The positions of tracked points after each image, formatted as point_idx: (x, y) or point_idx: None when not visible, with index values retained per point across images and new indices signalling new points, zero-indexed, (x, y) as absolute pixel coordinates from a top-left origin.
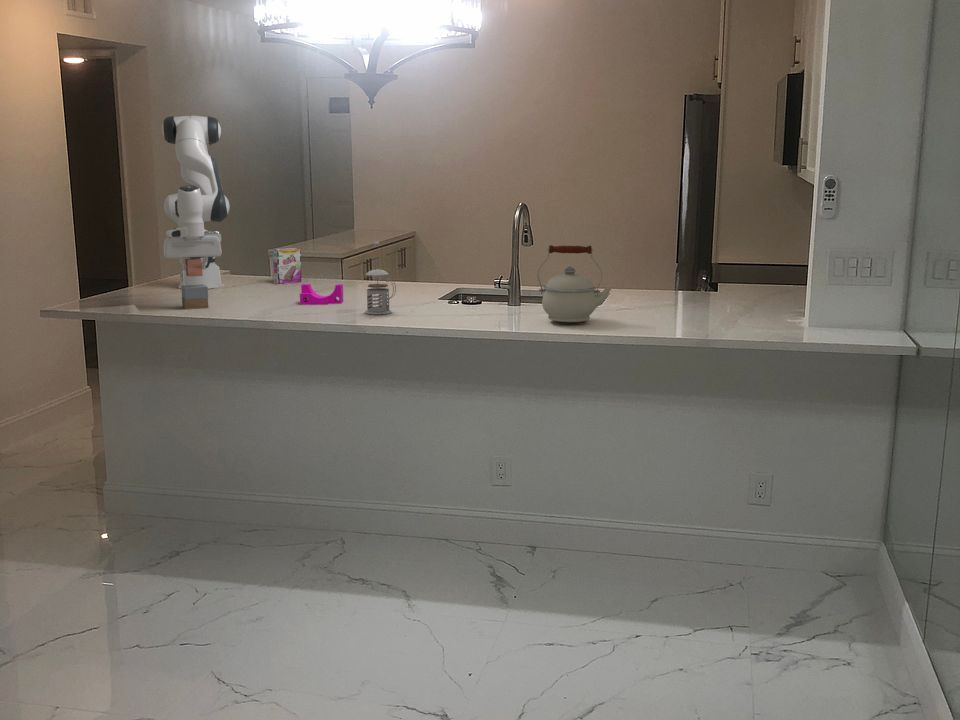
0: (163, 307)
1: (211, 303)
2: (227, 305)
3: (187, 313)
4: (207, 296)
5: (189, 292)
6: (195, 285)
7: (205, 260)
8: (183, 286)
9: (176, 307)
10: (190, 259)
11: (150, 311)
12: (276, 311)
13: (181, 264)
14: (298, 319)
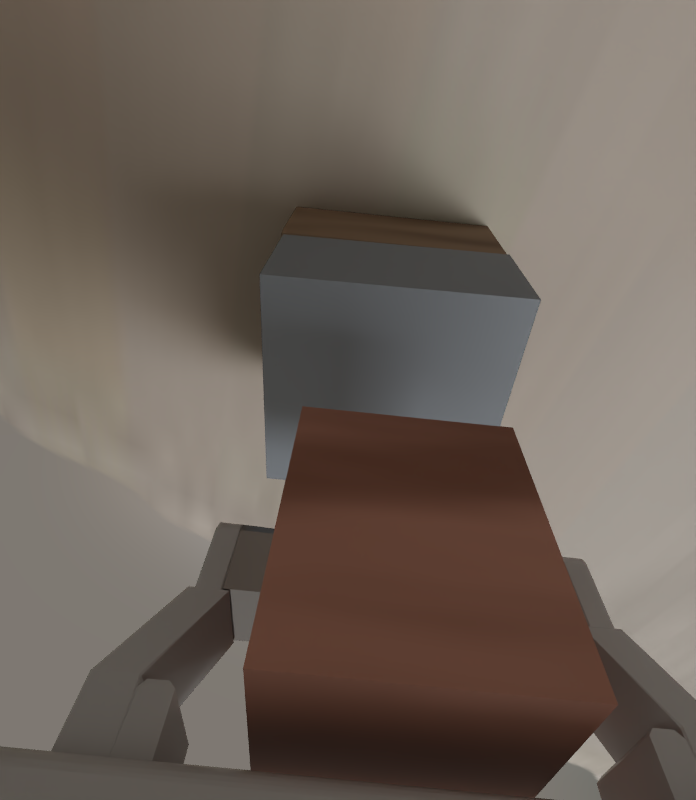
0: (135, 176)
1: (591, 143)
2: (622, 339)
3: (275, 502)
4: None
5: None
6: (417, 346)
7: (619, 759)
8: (273, 361)
9: (242, 238)
10: (328, 772)
11: (54, 338)
12: (669, 625)
13: (177, 611)
14: (594, 741)
